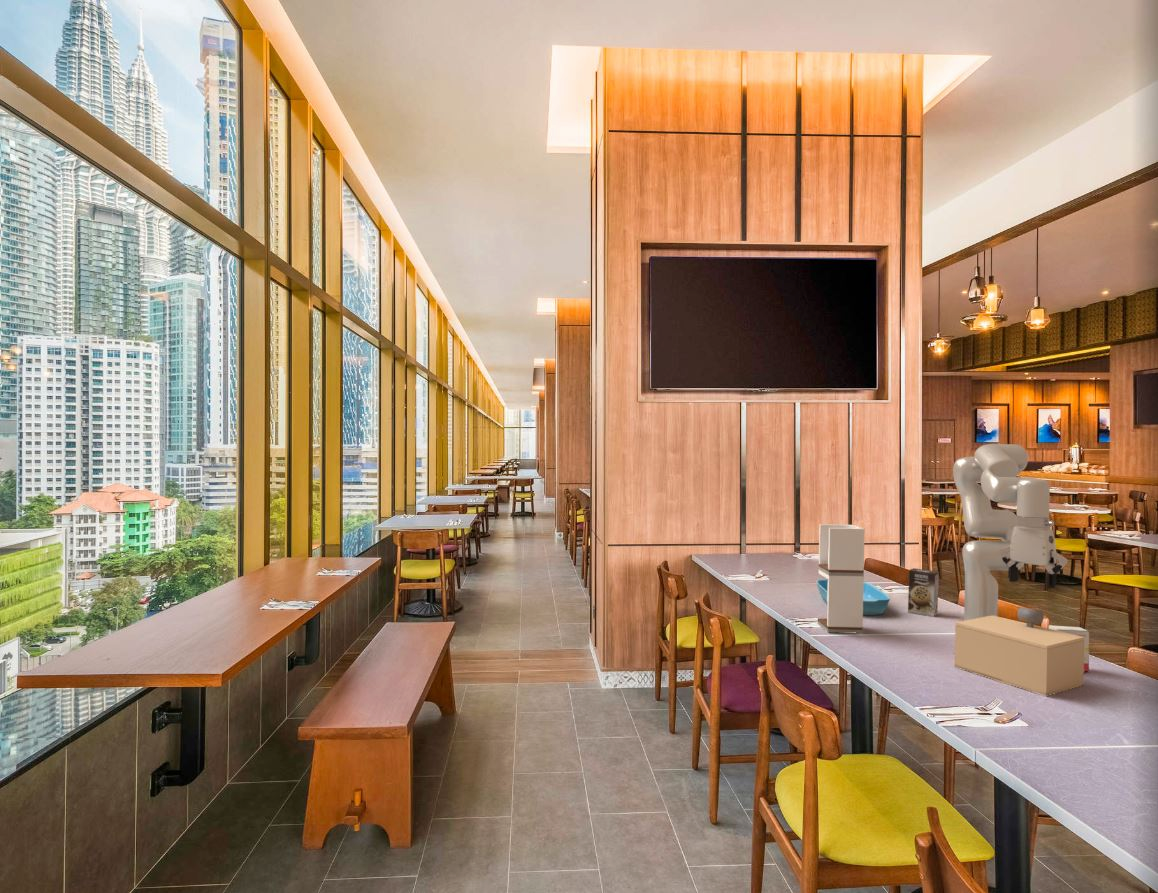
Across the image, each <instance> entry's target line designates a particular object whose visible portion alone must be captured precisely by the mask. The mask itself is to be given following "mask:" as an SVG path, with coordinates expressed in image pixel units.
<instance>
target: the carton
mask: <svg viewBox="0 0 1158 893" xmlns="http://www.w3.org/2000/svg"><path fill="white" fill-rule="evenodd" d="M954 628H955V629H954V631H955V632H954V668H955V667H957V668H956V669H958V668H961V669H963V670H962V671H964V670H967V671H970V672H973V673H976V674H975V675H977V674H979V675H978V676H980V675H982V676H981V677H983V676H985V677H984V678H986V677H988V678H987V679H989V678H991V679H990V680H992V679H994V680H993V681H995V680H996V681H995V682H998V681H999V683H1001V684H1002V683H1003V684H1005V683H1006V684H1005V685H1008V684H1009V685H1008V686H1011V685H1013V686H1012V687H1014V686H1016V687H1015V688H1017V687H1019V688H1018V689H1020V688H1023V689H1026V690H1025V691H1027V690H1029V691H1028V692H1030V691H1032V692H1031V693H1033V692H1036V693H1039V694H1042V695H1045V696H1047V695H1050V694H1053V695H1055V694H1054V693H1057V692H1060V693H1062V692H1061V691H1063V692H1066V691H1069V690H1068V689H1070V690H1072V688H1073V689H1075V687H1076V688H1080V687H1082V686H1081V685H1083V686H1084V680H1085V679H1084V678H1085V677H1084V674H1085V672H1084V640H1083V641H1079V642H1074V643H1070V644H1066V645H1062V646H1058V647H1054V648H1050V649H1044V648H1041V647H1037V646H1033V645H1029V644H1025V643H1022V642H1018V641H1014V640H1010V639H1006V638H1002V637H999V636H995V635H991V634H987V633H983V632H980V631H976V630H972V629H968V628H964V627H960V626H957V625H955V627H954ZM961 669H960V670H961ZM967 671H966V672H967ZM970 672H969V673H970ZM973 673H972V674H973ZM1079 686H1080V687H1079ZM1023 689H1022V690H1023ZM1065 690H1066V691H1065ZM1036 693H1035V694H1036ZM1039 694H1038V695H1039ZM1057 694H1058V693H1057ZM1042 695H1041V696H1042ZM1045 696H1044V697H1045ZM1050 696H1051V695H1050ZM1047 697H1048V696H1047Z"/></svg>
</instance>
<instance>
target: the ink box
mask: <svg viewBox="0 0 1158 893" xmlns="http://www.w3.org/2000/svg"><path fill="white" fill-rule="evenodd" d="M1048 629H1053V630H1057V631H1061V632H1065V633H1069V634H1074V635H1078V636H1082V637H1085V638H1084V673H1086V672H1085V671H1089V672H1090V631H1088V629H1084V628H1082V627H1080V626H1065V625H1064V626H1063V625H1062V626H1061V625H1051V624H1050V625H1048Z"/></svg>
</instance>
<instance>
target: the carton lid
mask: <svg viewBox="0 0 1158 893" xmlns="http://www.w3.org/2000/svg"><path fill="white" fill-rule="evenodd" d="M1016 616H1017V619H1018V620H1019V621H1018V620H1013V619H1009V618H1005V617H1000V616H999V615H998V616H993V615H992V616H987V617H981V618H976V619H971V620H966V621H964V620H961V621H956V622H955V626H956V625H957V626H960V627H964V628H968V629H972V630H976V631H980V632H983V633H987V634H991V635H995V636H999V637H1002V638H1006V639H1010V640H1014V641H1018V642H1022V643H1025V644H1029V645H1033V646H1037V647H1041V648H1044V649H1050V648H1054V647H1058V646H1062V645H1066V644H1070V643H1074V642H1079V641H1083V640H1084V638H1085V637H1082V636H1078V635H1074V634H1069V633H1065V632H1061V631H1057V630H1053V629H1049V627H1048V628H1047V627H1044V626H1040V625H1041V624H1042V623H1043V621H1044V617H1045V616H1044V612H1043V611H1041V610H1036V609H1033V608H1027V607H1024V606H1020V607H1019V608H1018V609H1017V615H1016ZM1022 621H1024V622H1022ZM1035 624H1037V625H1035Z"/></svg>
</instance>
